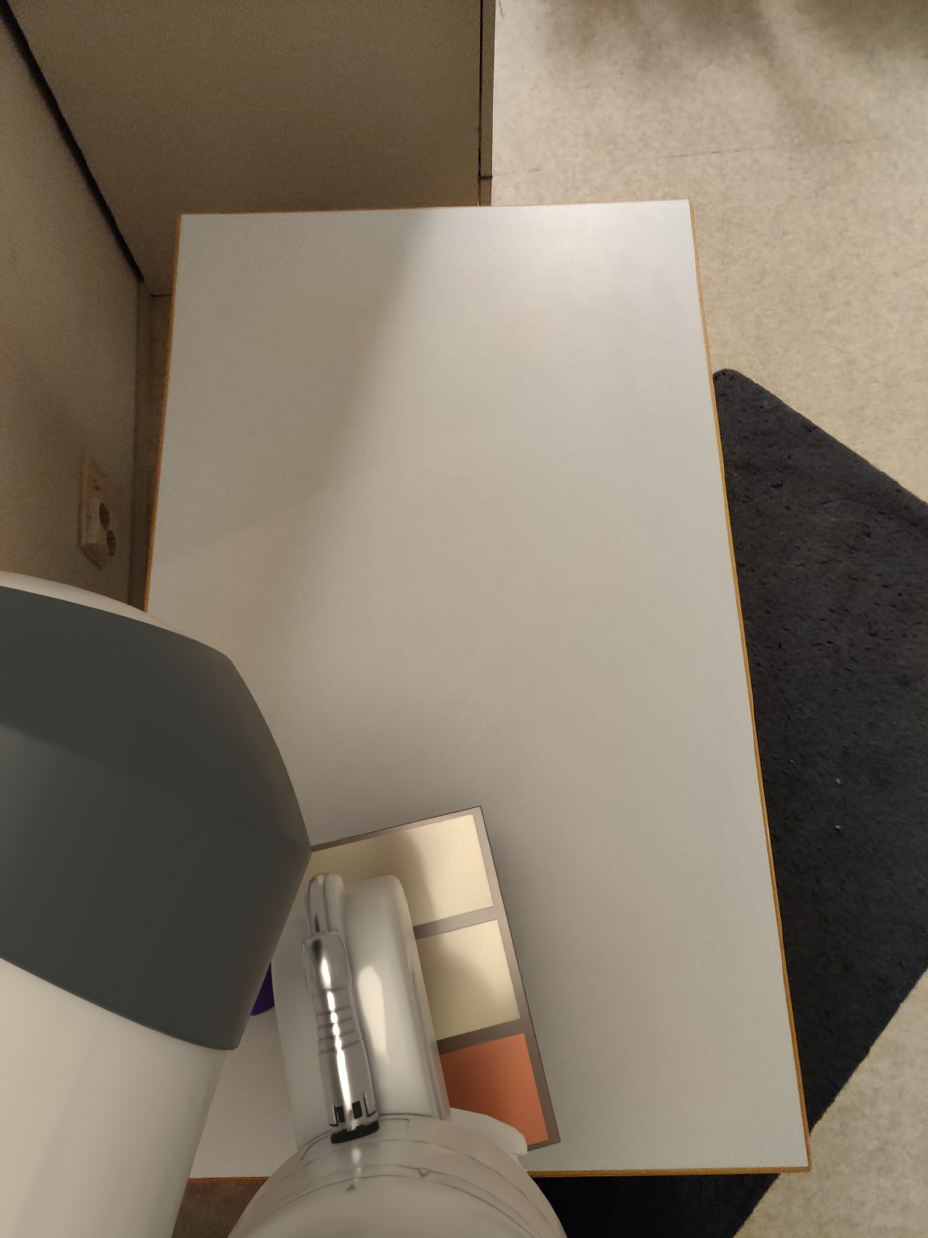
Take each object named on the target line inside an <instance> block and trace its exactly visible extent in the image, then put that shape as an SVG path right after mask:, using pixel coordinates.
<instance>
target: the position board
mask: <svg viewBox="0 0 928 1238" xmlns="http://www.w3.org/2000/svg"><path fill="white" fill-rule="evenodd" d="M483 812H484V811H483V809H482V806H481V805H477V806H473V807H468V808H464V809H461V810H455V811H451V812H447V813H443V814H439V815H436V816H431V817H427V818H422V819H419V820H415V821H414V820H413V821H410V822H406V823H403V824H398V825H393V826H389V827H385V828H381V829H377V830H373V831H369V832H364V833H361V834H357V835H352V836H348V837H344V838H339V839H336V840H332V841H327V842H323V843H319V844H315V845H311V849H312V856H311V858H310V861H309V864H308V866H307V869H306V871H305V874H304V877H303V879H302V882H301V884H300V887H299V890H298V892H297V895H296V897H295V900H294V902H295V901H296V900H297V899H299V898H301V897H303V895H302V888H303V884H304V882H305V881H306V880H308V879H312V878H313V876H314V875H315V874H317V873H328V874H338V875H339V876H340V877H341V878H342V880H343V882H344V885H346V884H351V883H355V882H360V881H364V880H369V879H373V878H378V877H382V876H386V875H393V876H395V877H396V878H397V879H398V880H399V881H400V883H401V885H402V888H403V890H404V893H405V896H406V900H407V903H408V908H409V912H410V917H411V921H412V926H413V931H414V936H415V941H416V946H417V950H418V955H419V960H420V965H421V970H422V975H423V980H424V984H425V989H426V994H427V999H428V1004H429V1009H430V1013H431V1018H432V1023H433V1028H434V1033H435V1038H436V1042H437V1047H438V1052H439V1057H440V1062H441V1067H442V1072H443V1076H444V1081H445V1086H446V1091H447V1096H448V1101H449V1105H450V1107H451V1108H455V1109H460V1110H465V1111H470V1112H475V1113H479V1114H484V1115H487V1116H490V1117H492V1118H494V1119H496V1120H498V1121H501V1122H503V1123H505V1124H507V1125H510V1126H512V1127H514V1128H516V1129H517V1130H518V1131H519V1132H520V1133H521V1134H522V1135H523V1136H524V1138H525V1141H526V1143H527V1152H532V1151H535V1150H538V1149H543V1148H547V1147H550V1146H554V1145H557V1144H560V1143H561V1141H562V1140H561V1135H560V1132H559V1128H558V1123H557V1119H556V1116H555V1115H556V1114H555V1112H554V1111H555V1110H554V1106H553V1101H552V1098H551V1094H550V1090H549V1086H548V1081H547V1077H546V1074H545V1069H544V1064H543V1060H542V1057H541V1053H540V1048H539V1045H538V1044H539V1043H538V1039H537V1034H536V1031H535V1027H534V1022H533V1019H532V1013H531V1009H530V1007H529V1001H528V996H527V993H526V988H525V985H524V981H523V976H522V972H521V969H520V963H519V960H518V955H517V951H516V947H515V943H514V939H513V934H512V929H511V926H510V922H509V918H508V913H507V909H506V904H505V900H504V896H503V892H502V888H501V883H500V879H499V875H498V871H497V867H496V863H495V858H494V854H493V849H492V846H491V842H490V837H489V833H488V830H487V829H488V828H487V825H486V821H485V817H484V816H485V815H484V813H483Z"/></svg>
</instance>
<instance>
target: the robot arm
mask: <svg viewBox="0 0 928 1238" xmlns="http://www.w3.org/2000/svg"><path fill="white" fill-rule="evenodd" d="M289 774H290V773H289V772H288V769H287V767H286V764H285V762H284V759H283V756H282V754H281V751H280V749H279V747H278V745H277V742H276V740H275V738H274V735H273V733H272V731H271V729H270V727H269V725H268V722H267V720H266V719H265V717H264V715H263V713H262V711H261V709H260V707H259V704H258V703H257V701H256V699H255V698H254V696H253V694H252V692H251V691H250V689H249V687H248V685H247V683H246V682H245V680H244V679H243V677H242V675H241V674H240V672H239V670H238V669H237V668H236V666H235V664H234V662H233V661H232V660H231V658H230V657H228V655H226V654H225V653H223V652H221V651H220V650H217V649H216V648H214V647H212V646H210V645H208V644H206V643H203V642H201V641H199V640H196V639H194V638H192V637H190V636H189V635H187V634H186V633H184V632H183V631H181V630H179V629H177V628H176V627H174V626H173V625H171V624H169V623H168V622H165V621H164V620H161V619H159V618H158V617H156V616H154V615H152V614H150V613H148V612H146V611H144V610H141V609H139V608H137V607H134V606H132V605H130V604H128V603H125V602H123V601H119V600H116V599H114V598H112V597H108V596H106V595H103V594H100V593H97V592H93V591H90V590H87V589H84V588H80V587H77V586H74V585H71V584H68V583H62V582H58V581H54V580H50V579H45V578H41V577H37V576H33V575H27V574H23V573H18V572H12V571H4V570H0V1238H172V1235H173V1232H174V1229H175V1225H176V1223H177V1220H178V1216H179V1212H180V1208H181V1205H182V1202H183V1199H184V1196H185V1192H186V1190H187V1185H188V1182H189V1179H190V1176H191V1173H192V1170H193V1166H194V1162H195V1159H196V1156H197V1152H198V1149H199V1146H200V1142H201V1138H202V1136H203V1132H204V1129H205V1125H206V1123H207V1119H208V1115H209V1112H210V1108H211V1105H212V1103H213V1099H214V1095H215V1092H216V1088H217V1085H218V1082H219V1078H220V1075H221V1072H222V1068H223V1065H224V1062H225V1058H226V1056H227V1052H228V1051H234V1050H236V1049H238V1047H239V1045H240V1044H241V1040H242V1037H243V1035H244V1033H245V1030H246V1028H247V1025H248V1022H249V1020H250V1017H251V1016H250V1014H251V1012H252V1009H253V1007H254V1004H255V1001H256V999H257V996H258V994H259V991H260V988H261V986H262V983H263V981H264V978H265V975H266V973H267V970H268V968H269V965H270V962H271V971H272V983H273V993H274V1002H275V1006H274V1008H275V1009H274V1010H275V1015H276V1021H277V1028H278V1034H279V1040H280V1047H281V1052H282V1059H283V1067H284V1072H285V1079H286V1085H287V1091H288V1097H289V1103H290V1110H291V1117H292V1123H293V1130H294V1137H295V1142H296V1148H297V1151H296V1152H295V1153H293V1154H292V1155H291V1156H290V1157H288V1158H287V1159H286V1160H285V1161H284V1162H283V1163H282V1164H281V1165H280V1166H279V1167H278V1168H277V1169H276V1170H275V1171H274V1172H273V1173H272V1174H271V1175H270V1176H269V1177H268V1178H267V1179H266V1181H265V1182H263V1184H262V1185H261V1186H260V1188H259V1189H258V1190H257V1191H256V1193H255V1195H254V1196H253V1197H252V1198H251V1200H250V1201H249V1202H248V1204H247V1206H246V1207H245V1209H244V1210H243V1211H242V1213H241V1215H240V1217H239V1218H238V1220H237V1221H236V1223H235V1224H234V1226H233V1228H232V1229H231V1231H230V1232H229V1234H228V1236H227V1237H226V1238H568V1236H567V1234H566V1232H565V1230H564V1228H563V1225H562V1223H561V1221H560V1218H559V1217H558V1216H557V1214H556V1212H555V1210H554V1209H553V1207H552V1205H551V1203H550V1202H549V1200H548V1199H547V1198H546V1196H545V1194H544V1193H543V1192H542V1190H541V1189H540V1187H539V1185H538V1184H537V1183H536V1182H535V1180H533V1179H532V1177H531V1176H530V1175H529V1174H528V1172H527V1171H526V1172H527V1173H526V1172H525V1170H526V1169H525V1168H524V1167H523V1166H522V1167H523V1168H524V1169H525V1170H524V1169H523V1168H522V1167H520V1166H519V1165H518V1164H517V1163H516V1162H515V1161H514V1160H513V1159H512V1158H511V1157H510V1156H509V1155H507V1154H506V1153H505V1152H504V1151H502V1150H501V1149H500V1148H498V1147H497V1146H496V1145H495V1144H493V1143H491V1142H490V1141H488V1140H487V1139H485V1138H483V1137H482V1136H480V1135H478V1134H476V1133H474V1132H472V1131H470V1130H468V1129H466V1128H464V1127H461V1126H459V1125H456V1124H453V1120H452V1115H451V1110H450V1105H449V1101H448V1096H447V1091H446V1086H445V1081H444V1076H443V1072H442V1067H441V1062H440V1057H439V1052H438V1047H437V1042H436V1038H435V1033H434V1028H433V1023H432V1018H431V1013H430V1009H429V1004H428V999H427V994H426V989H425V984H424V980H423V975H422V970H421V965H420V960H419V955H418V950H417V946H416V941H415V936H414V931H413V926H412V921H411V917H410V912H409V908H408V903H407V900H406V896H405V893H404V890H403V888H402V885H401V883H400V881H399V880H398V879H397V878H396V877H395V876H393V875H386V876H382V877H378V878H373V879H369V880H364V881H360V882H355V883H351V884H346V885H344V882H343V880H342V878H341V877H340V876H339V875H338V874H328V873H317V874H315V875H314V876H313V878H312V879H308V880H306V881H305V882H304V884H303V888H302V895H303V897H301V898H299V899H297V900H296V901H295V902H294V900H295V897H296V895H297V892H298V890H299V887H300V884H301V882H302V879H303V877H304V874H305V871H306V869H307V866H308V864H309V861H310V858H311V856H312V849H311V846H312V845H311V842H310V838H309V835H308V834H309V833H308V830H307V825H306V823H305V820H304V816H303V813H302V809H301V807H300V803H299V801H298V797H297V793H296V791H295V788H294V785H293V782H292V780H291V777H290V775H289Z"/></svg>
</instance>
